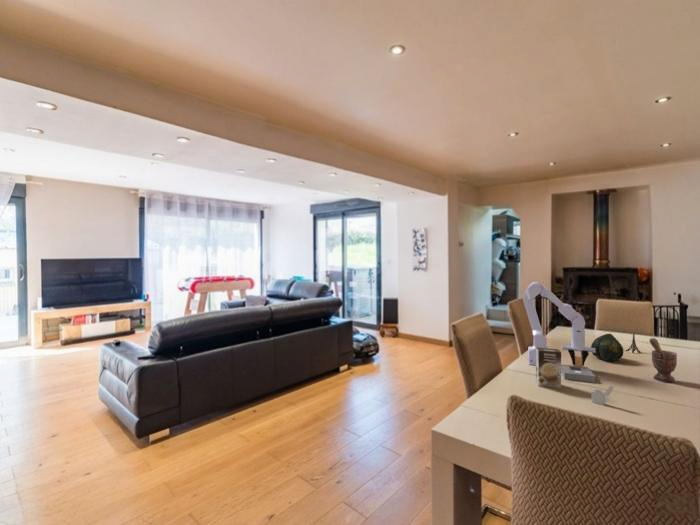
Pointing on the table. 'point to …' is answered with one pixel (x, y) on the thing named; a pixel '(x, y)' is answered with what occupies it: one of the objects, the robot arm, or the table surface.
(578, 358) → the plug
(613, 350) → the squash
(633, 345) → the eiffel tower figurine
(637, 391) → the table surface
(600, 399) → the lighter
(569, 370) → the grey flat block
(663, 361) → the mortar and pestle
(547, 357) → the coffee box
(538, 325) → the robot arm
